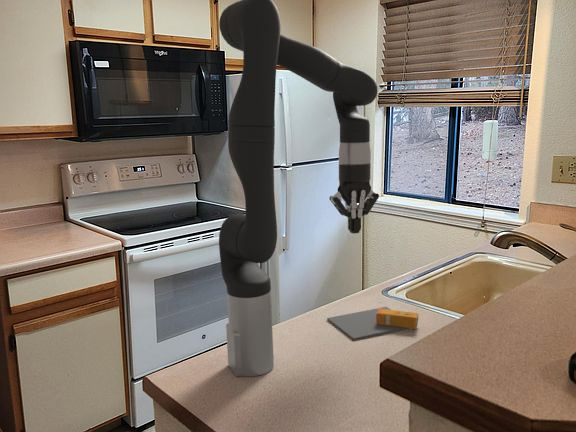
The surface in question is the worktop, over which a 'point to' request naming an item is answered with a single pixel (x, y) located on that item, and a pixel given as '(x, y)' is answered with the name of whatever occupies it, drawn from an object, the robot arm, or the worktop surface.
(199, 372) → the worktop surface
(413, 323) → the supplement box
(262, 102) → the robot arm
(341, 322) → the mat
